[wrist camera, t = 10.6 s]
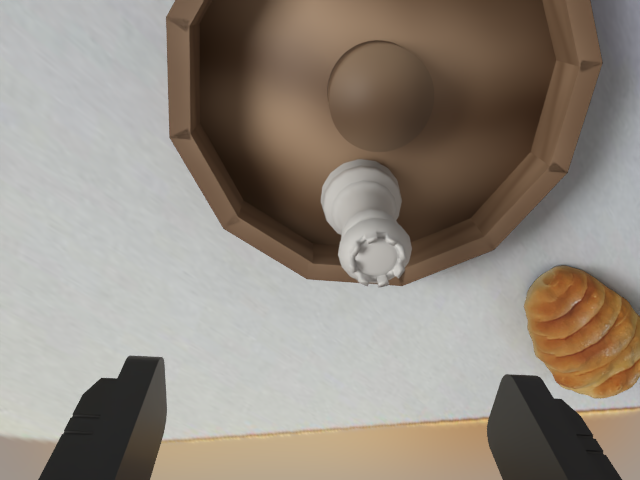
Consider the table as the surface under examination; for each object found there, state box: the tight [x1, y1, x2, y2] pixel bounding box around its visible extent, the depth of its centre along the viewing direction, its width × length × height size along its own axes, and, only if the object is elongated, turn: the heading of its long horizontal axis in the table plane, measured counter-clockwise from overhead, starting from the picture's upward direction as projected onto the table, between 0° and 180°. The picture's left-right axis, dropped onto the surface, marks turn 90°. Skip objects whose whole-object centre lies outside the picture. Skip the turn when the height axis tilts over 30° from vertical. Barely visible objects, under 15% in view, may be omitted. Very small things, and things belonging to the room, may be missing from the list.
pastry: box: [524, 265, 640, 398], centre depth 33 cm, size 9×7×4 cm
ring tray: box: [166, 0, 603, 286], centre depth 26 cm, size 21×21×4 cm
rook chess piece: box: [321, 159, 412, 287], centre depth 25 cm, size 4×4×8 cm
